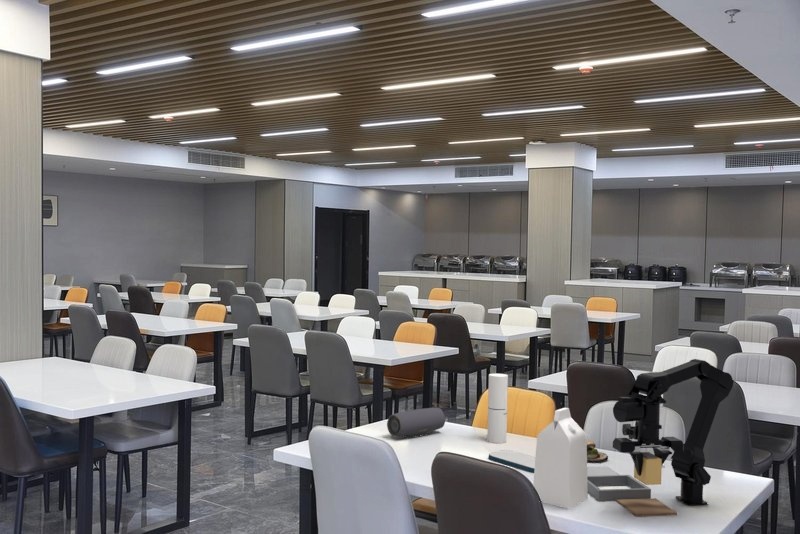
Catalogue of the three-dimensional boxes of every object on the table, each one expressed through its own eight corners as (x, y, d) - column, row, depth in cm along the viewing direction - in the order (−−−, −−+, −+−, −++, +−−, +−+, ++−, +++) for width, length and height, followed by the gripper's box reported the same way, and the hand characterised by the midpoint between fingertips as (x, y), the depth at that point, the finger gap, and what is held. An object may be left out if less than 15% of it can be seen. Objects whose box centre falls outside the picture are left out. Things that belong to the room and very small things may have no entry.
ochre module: (661, 484, 203) (661, 457, 203) (645, 484, 203) (646, 458, 203) (648, 476, 210) (649, 451, 210) (633, 477, 210) (634, 451, 209)
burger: (572, 462, 252) (572, 440, 252) (572, 453, 264) (573, 432, 264) (608, 465, 250) (609, 443, 249) (607, 456, 261) (607, 435, 261)
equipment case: (650, 499, 214) (650, 489, 214) (598, 501, 212) (598, 490, 212) (608, 470, 242) (608, 461, 242) (561, 471, 240) (562, 462, 240)
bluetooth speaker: (429, 429, 296) (430, 404, 295) (445, 433, 288) (446, 408, 288) (385, 437, 281) (386, 411, 281) (401, 442, 274) (401, 415, 274)
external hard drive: (561, 470, 244) (561, 464, 244) (538, 476, 236) (538, 470, 236) (506, 454, 262) (507, 448, 261) (484, 459, 254) (484, 454, 254)
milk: (551, 489, 221) (553, 403, 221) (587, 498, 214) (589, 409, 214) (532, 499, 212) (534, 409, 212) (568, 508, 205) (571, 415, 204)
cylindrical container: (483, 439, 280) (485, 374, 280) (499, 438, 283) (501, 373, 283) (493, 444, 274) (495, 377, 273) (510, 442, 277) (511, 376, 276)
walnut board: (677, 514, 202) (677, 512, 202) (636, 516, 200) (636, 514, 200) (655, 500, 213) (655, 498, 213) (616, 501, 212) (616, 499, 212)
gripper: (665, 412, 216) (663, 465, 216) (604, 413, 213) (603, 467, 213) (685, 421, 205) (684, 477, 205) (622, 422, 202) (621, 479, 202)
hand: (647, 475), depth 206 cm, fingers closed on ochre module, 4 cm apart
